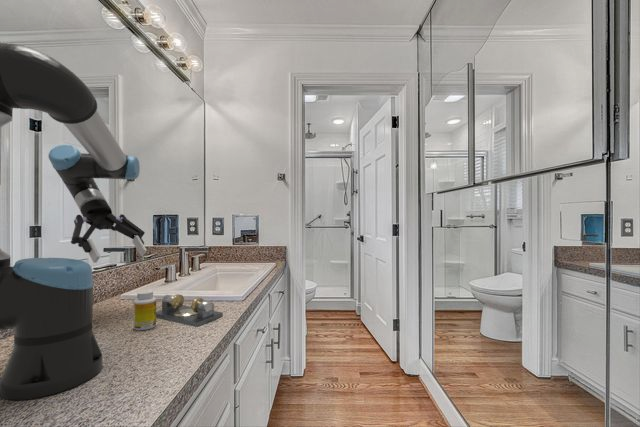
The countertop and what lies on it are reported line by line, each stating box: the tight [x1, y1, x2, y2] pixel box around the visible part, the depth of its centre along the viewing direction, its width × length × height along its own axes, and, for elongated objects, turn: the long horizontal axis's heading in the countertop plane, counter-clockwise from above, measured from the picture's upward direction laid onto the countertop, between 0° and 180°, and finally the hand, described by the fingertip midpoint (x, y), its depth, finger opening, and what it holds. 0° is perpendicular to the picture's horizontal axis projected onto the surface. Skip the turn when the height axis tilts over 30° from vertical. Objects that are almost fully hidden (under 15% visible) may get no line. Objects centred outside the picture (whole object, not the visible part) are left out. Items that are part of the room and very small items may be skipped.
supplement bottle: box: [133, 289, 157, 331], centre depth 86 cm, size 6×6×10 cm
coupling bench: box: [156, 294, 224, 328], centre depth 96 cm, size 10×20×6 cm, turn 64°
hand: (122, 256), depth 91 cm, fingers open, 13 cm apart
